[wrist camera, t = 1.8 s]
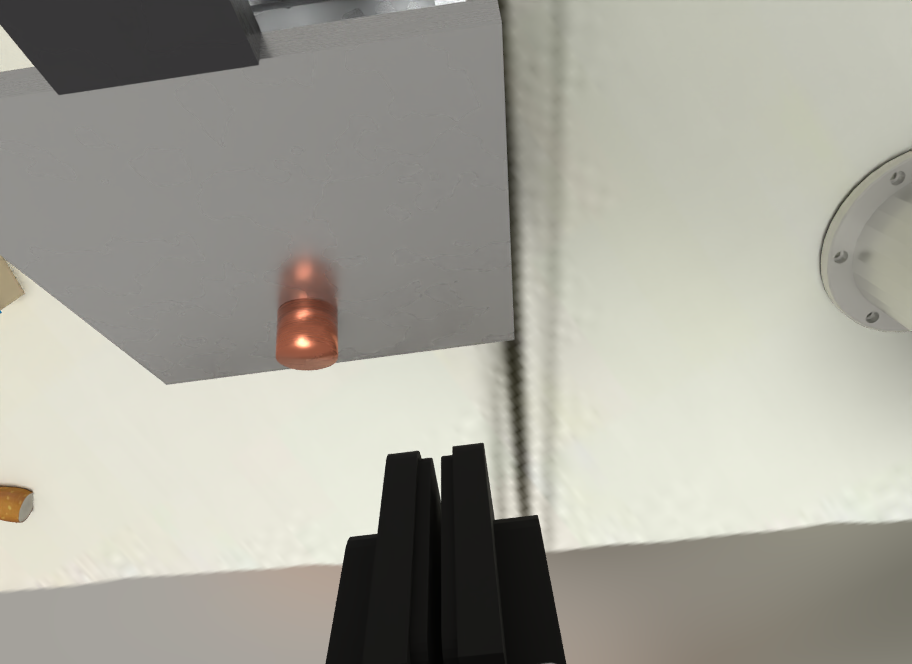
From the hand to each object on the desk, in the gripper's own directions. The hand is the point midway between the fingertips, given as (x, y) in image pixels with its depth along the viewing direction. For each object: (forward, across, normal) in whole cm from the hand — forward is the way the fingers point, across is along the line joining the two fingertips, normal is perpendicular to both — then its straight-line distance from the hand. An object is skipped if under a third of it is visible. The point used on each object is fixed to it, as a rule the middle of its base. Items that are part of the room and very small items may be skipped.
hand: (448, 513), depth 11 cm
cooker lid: (+13, +6, -3) cm, 14 cm away
